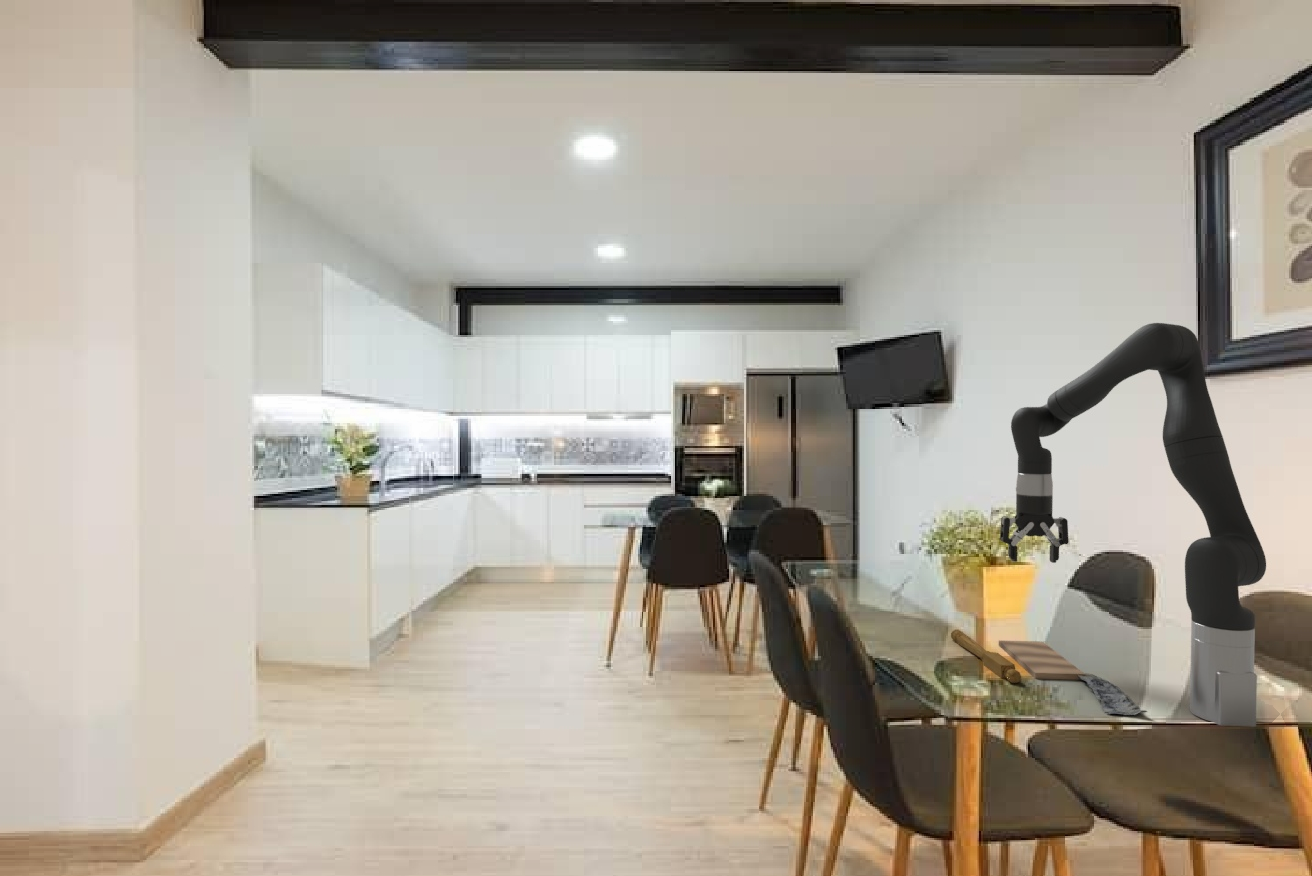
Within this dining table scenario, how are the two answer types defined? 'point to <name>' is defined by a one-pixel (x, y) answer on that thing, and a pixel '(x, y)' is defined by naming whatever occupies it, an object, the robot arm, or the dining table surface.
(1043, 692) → the dining table surface
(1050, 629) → the dining table surface
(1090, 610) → the dining table surface
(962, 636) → the tap handle
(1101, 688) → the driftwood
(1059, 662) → the cutting board
